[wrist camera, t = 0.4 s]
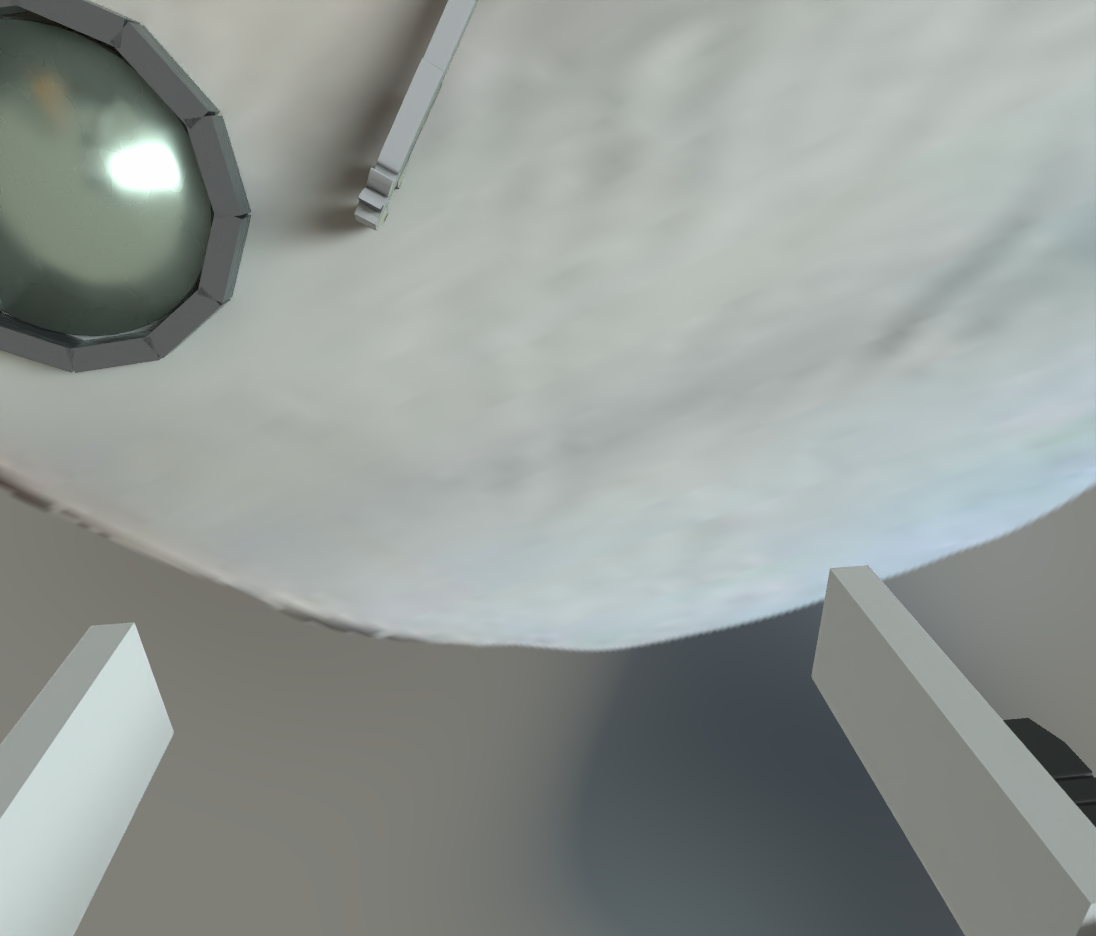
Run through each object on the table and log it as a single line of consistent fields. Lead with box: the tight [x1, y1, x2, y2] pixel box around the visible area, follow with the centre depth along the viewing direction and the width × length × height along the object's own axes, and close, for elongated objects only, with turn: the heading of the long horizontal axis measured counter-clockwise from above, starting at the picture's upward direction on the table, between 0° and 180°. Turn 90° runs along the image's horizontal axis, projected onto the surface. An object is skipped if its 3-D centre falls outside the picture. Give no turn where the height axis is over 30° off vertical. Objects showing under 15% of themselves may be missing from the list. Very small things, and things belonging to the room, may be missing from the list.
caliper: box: [354, 0, 478, 231], centre depth 29 cm, size 20×1×6 cm, turn 151°
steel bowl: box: [0, 0, 251, 373], centre depth 33 cm, size 16×16×2 cm
